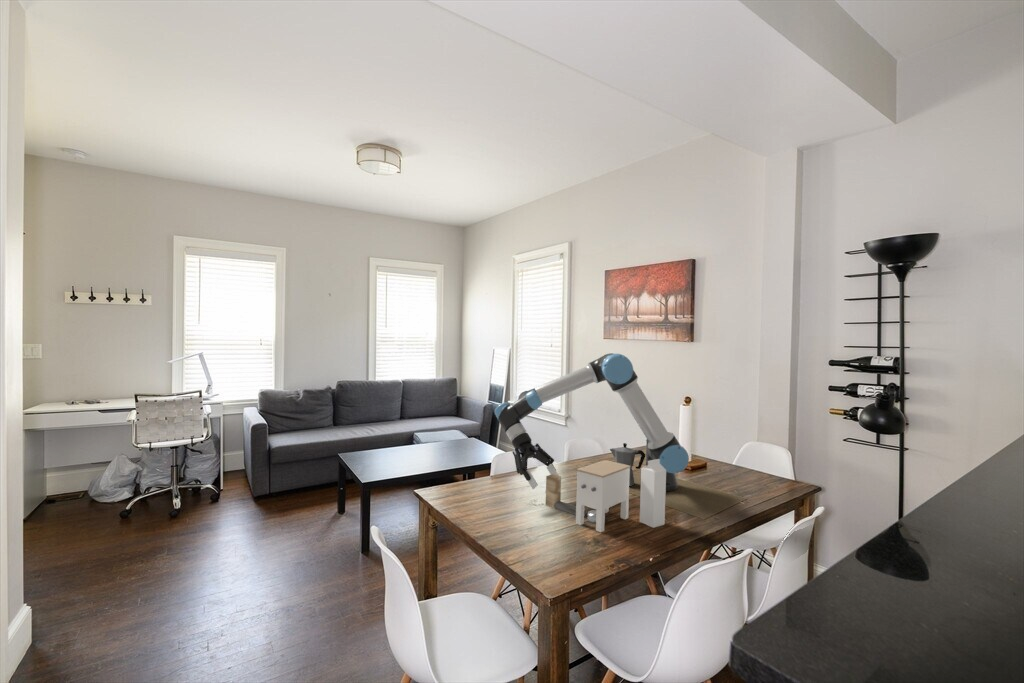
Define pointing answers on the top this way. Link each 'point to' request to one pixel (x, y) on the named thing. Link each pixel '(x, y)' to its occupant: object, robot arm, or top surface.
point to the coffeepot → (628, 458)
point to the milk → (653, 494)
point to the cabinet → (602, 490)
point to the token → (591, 516)
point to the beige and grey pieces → (557, 495)
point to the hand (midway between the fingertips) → (546, 483)
